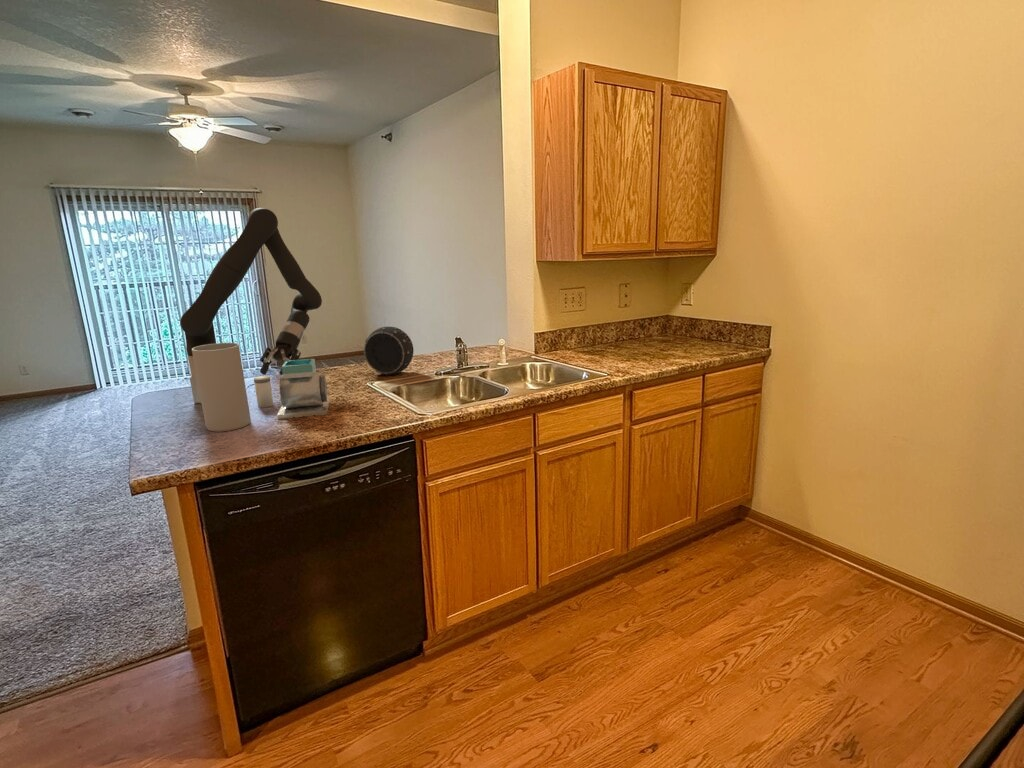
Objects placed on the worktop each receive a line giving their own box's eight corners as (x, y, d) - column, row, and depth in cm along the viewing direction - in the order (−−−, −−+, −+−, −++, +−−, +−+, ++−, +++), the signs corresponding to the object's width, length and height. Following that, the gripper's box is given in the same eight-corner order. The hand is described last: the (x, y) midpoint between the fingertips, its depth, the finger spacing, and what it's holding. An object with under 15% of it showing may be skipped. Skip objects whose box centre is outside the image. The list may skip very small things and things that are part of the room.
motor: (277, 419, 174) (270, 369, 169) (284, 406, 187) (277, 359, 183) (326, 414, 177) (320, 365, 173) (329, 402, 190) (324, 356, 186)
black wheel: (408, 377, 222) (404, 329, 217) (363, 376, 226) (358, 328, 221) (417, 371, 232) (414, 325, 227) (374, 370, 236) (370, 324, 231)
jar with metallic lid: (256, 408, 186) (252, 379, 184) (259, 404, 191) (255, 376, 188) (272, 406, 187) (268, 378, 185) (274, 402, 192) (271, 375, 189)
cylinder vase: (235, 417, 177) (222, 341, 171) (259, 422, 171) (247, 344, 164) (197, 428, 167) (182, 348, 160) (222, 435, 160) (207, 352, 154)
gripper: (268, 330, 198) (249, 367, 190) (300, 331, 193) (281, 369, 185) (281, 341, 204) (262, 378, 196) (312, 343, 199) (294, 381, 192)
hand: (272, 374), depth 191 cm, fingers open, 8 cm apart
